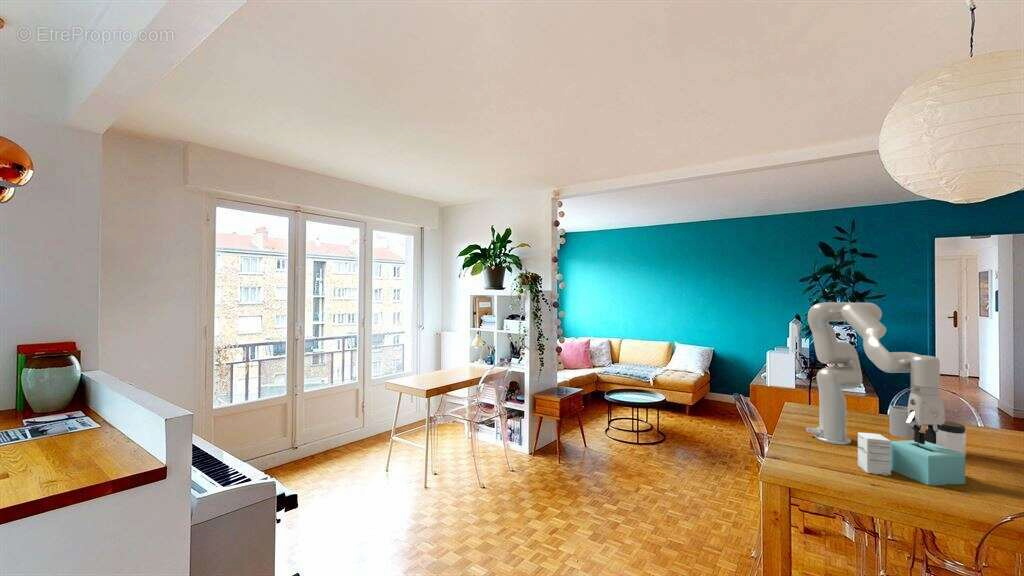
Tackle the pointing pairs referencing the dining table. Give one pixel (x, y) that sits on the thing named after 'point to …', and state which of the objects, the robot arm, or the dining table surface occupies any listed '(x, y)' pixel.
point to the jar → (952, 436)
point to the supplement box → (874, 453)
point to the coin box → (928, 462)
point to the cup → (900, 422)
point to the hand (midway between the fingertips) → (925, 442)
